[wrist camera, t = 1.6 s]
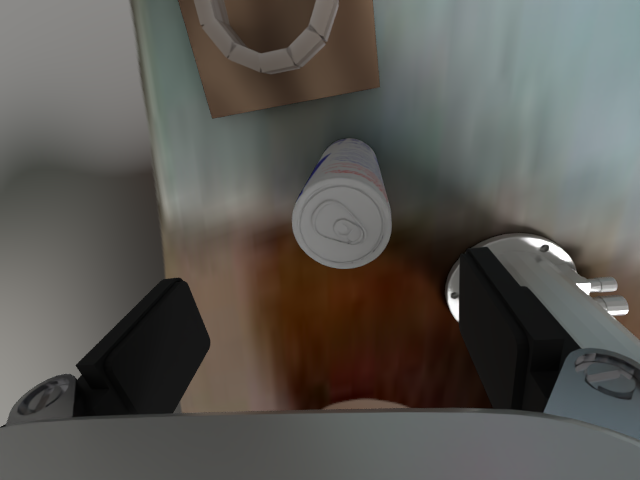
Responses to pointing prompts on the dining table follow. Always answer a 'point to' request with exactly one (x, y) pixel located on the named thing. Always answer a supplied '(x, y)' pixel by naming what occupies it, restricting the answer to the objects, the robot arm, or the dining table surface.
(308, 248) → the beverage can
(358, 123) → the dining table surface
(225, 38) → the can stand
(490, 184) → the dining table surface
